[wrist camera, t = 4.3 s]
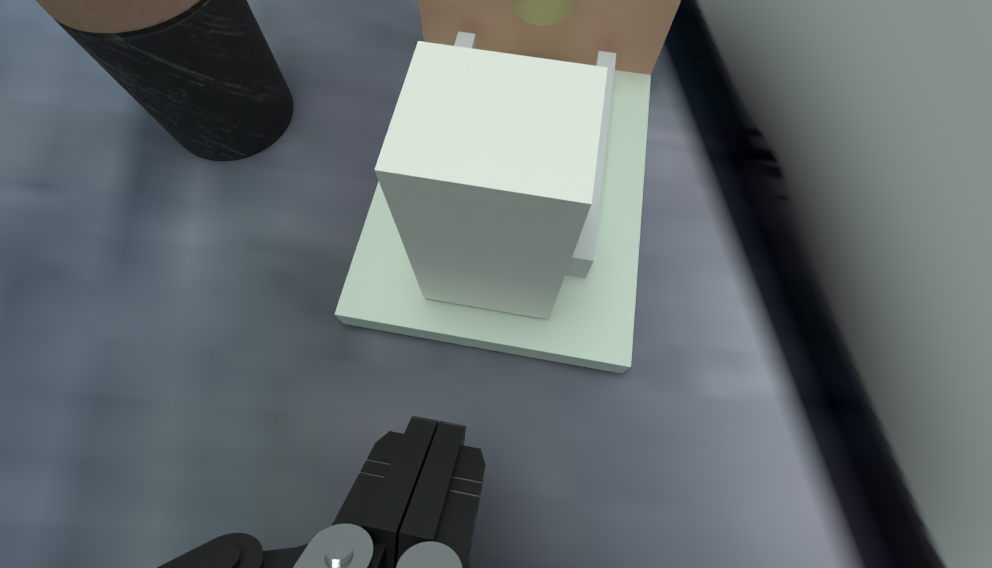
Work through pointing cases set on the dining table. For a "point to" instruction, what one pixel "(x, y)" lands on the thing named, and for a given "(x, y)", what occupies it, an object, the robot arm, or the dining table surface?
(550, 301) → the white rectangular block
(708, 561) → the dining table surface
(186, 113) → the travel mug
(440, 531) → the robot arm
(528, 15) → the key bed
